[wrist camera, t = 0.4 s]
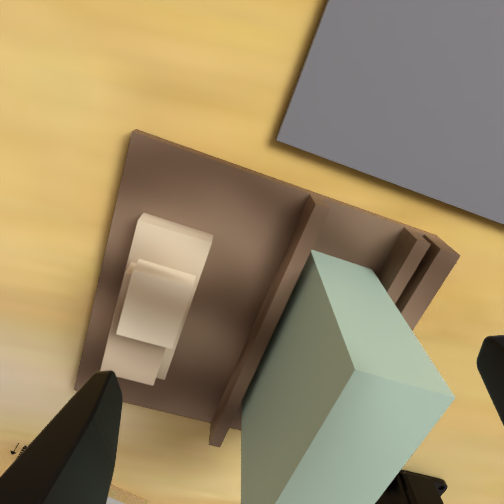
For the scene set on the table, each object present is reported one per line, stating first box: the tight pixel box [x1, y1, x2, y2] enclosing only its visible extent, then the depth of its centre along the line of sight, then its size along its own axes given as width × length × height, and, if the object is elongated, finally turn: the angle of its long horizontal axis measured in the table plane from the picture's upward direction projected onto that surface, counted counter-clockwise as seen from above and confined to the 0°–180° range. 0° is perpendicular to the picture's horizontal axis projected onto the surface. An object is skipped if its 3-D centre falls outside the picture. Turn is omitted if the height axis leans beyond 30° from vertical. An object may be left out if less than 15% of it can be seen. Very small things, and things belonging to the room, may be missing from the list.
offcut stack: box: [100, 213, 213, 386], centre depth 22 cm, size 10×4×4 cm, turn 160°
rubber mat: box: [276, 0, 504, 224], centre depth 19 cm, size 14×16×1 cm
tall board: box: [241, 250, 455, 504], centre depth 21 cm, size 12×4×10 cm, turn 160°
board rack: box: [74, 129, 460, 447], centre depth 24 cm, size 18×18×3 cm
